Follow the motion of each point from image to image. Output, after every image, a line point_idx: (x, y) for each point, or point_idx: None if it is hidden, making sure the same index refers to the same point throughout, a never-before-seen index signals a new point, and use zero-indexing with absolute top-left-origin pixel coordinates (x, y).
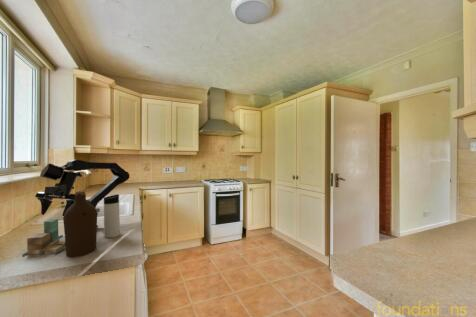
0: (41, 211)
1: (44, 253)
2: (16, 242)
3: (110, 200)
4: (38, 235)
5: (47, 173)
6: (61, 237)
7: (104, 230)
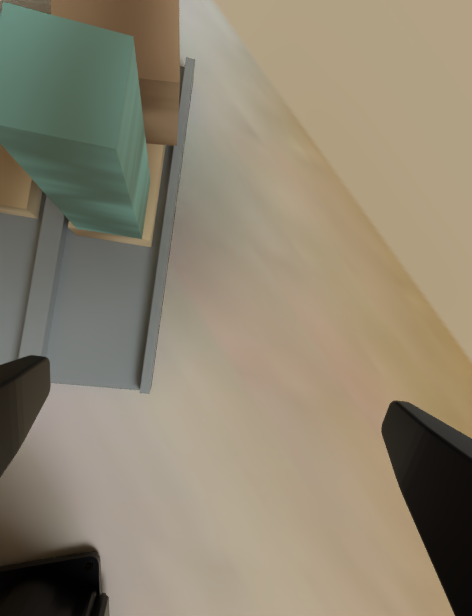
0: (448, 427)
1: None
2: (422, 373)
3: None
4: (121, 16)
5: None
6: (136, 362)
7: None
